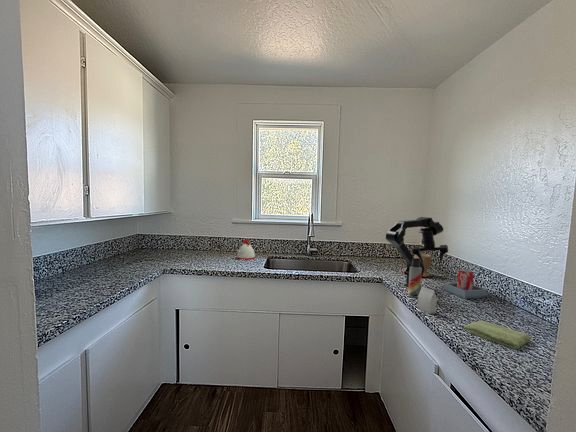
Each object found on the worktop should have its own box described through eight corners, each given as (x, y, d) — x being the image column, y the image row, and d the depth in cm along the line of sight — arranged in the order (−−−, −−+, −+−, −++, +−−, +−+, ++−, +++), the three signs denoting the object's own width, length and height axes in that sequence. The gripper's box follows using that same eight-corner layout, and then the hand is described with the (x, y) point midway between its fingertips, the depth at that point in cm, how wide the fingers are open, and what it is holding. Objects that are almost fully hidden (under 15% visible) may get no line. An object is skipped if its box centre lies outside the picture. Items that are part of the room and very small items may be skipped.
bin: (464, 299, 148) (465, 291, 148) (443, 290, 162) (443, 283, 161) (486, 297, 152) (487, 289, 152) (463, 288, 165) (464, 282, 165)
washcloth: (478, 324, 120) (478, 316, 119) (532, 343, 105) (532, 334, 105) (462, 331, 112) (462, 323, 112) (517, 353, 98) (517, 343, 97)
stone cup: (434, 277, 189) (436, 254, 188) (420, 278, 185) (421, 255, 184) (416, 271, 203) (418, 250, 202) (403, 272, 199) (404, 250, 198)
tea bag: (430, 313, 128) (431, 291, 128) (417, 308, 134) (418, 286, 134) (435, 312, 130) (437, 290, 129) (423, 307, 136) (424, 286, 135)
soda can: (455, 291, 157) (456, 269, 156) (459, 289, 161) (460, 267, 161) (470, 295, 152) (471, 272, 151) (473, 292, 156) (475, 270, 156)
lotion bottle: (413, 298, 147) (415, 259, 146) (405, 294, 153) (407, 257, 151) (422, 297, 149) (424, 258, 148) (414, 294, 154) (417, 256, 153)
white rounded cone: (248, 255, 240) (249, 237, 239) (258, 258, 230) (258, 240, 229) (233, 257, 232) (234, 239, 231) (243, 261, 221) (243, 241, 220)
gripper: (446, 232, 172) (449, 257, 174) (412, 234, 181) (416, 258, 184) (446, 238, 162) (449, 264, 165) (410, 240, 172) (414, 265, 175)
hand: (431, 262), depth 173 cm, fingers open, 9 cm apart
